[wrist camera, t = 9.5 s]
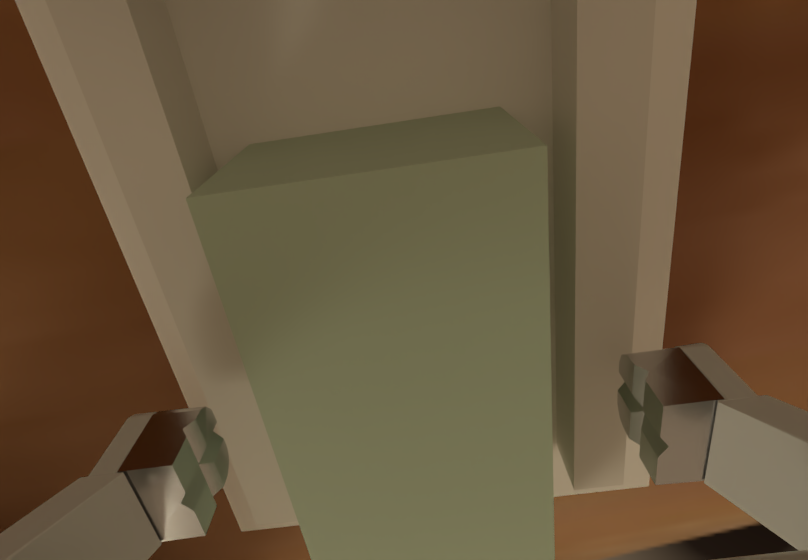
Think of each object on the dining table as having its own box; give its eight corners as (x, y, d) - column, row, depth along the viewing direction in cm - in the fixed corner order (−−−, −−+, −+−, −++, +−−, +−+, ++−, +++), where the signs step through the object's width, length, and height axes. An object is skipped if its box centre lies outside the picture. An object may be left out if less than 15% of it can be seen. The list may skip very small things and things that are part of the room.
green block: (521, 474, 14) (555, 598, 11) (345, 494, 15) (332, 621, 12) (500, 106, 10) (547, 145, 7) (249, 144, 10) (185, 198, 7)
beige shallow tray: (631, 454, 16) (745, 665, 11) (251, 498, 16) (185, 717, 11) (696, -415, 8) (1288, -1265, 3) (-51, -265, 8) (-762, -720, 3)
